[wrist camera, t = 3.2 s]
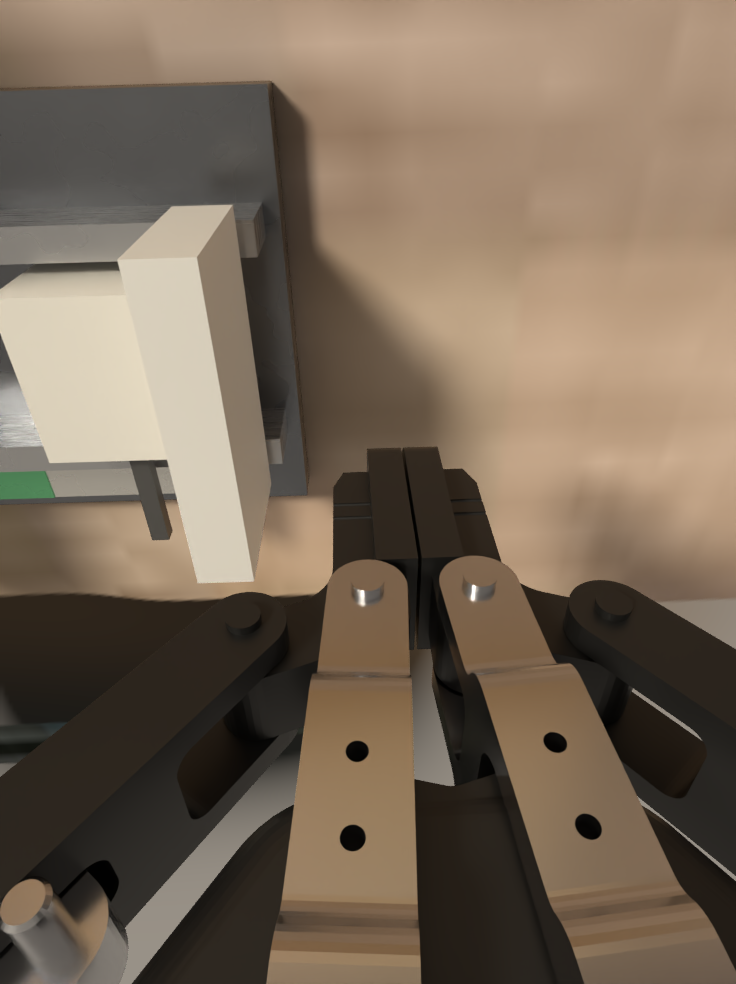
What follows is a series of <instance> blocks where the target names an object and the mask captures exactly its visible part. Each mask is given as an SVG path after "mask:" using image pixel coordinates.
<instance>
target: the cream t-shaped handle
mask: <svg viewBox="0 0 736 984" xmlns="http://www.w3.org/2000/svg"><path fill="white" fill-rule="evenodd" d="M0 334H1V337H2V340H3V342H4V345H5V347H6V350H7V353H8V355H9V358H10V361H11V363H12V366H13V368H14V371H15V374H16V376H17V379H18V382H19V384H20V387H21V389H22V392H23V395H24V397H25V400H26V402H27V405H28V408H29V410H30V413H31V416H32V418H33V421H34V423H35V426H36V429H37V431H38V434H39V437H40V439H41V442H42V444H43V447H44V450H45V452H46V455H47V458H48V460H49V463H72V462H105V461H129V462H130V465H131V469H132V472H133V476H134V479H135V482H136V486H137V489H138V493H139V496H140V500H141V503H142V506H143V510H144V513H145V517H146V520H147V524H148V527H149V530H150V534H151V537H152V540H169V539H170V536H171V533H172V527H171V524H170V520H169V516H168V512H167V508H166V505H165V501H164V497H163V493H162V490H161V486H160V482H159V478H158V474H157V471H156V467H155V463H154V460H167V461H168V465H169V469H170V473H171V477H172V481H173V485H174V489H175V493H176V497H177V501H178V505H179V509H180V513H181V517H182V521H183V525H184V529H185V533H186V537H187V541H188V545H189V549H190V553H191V557H192V561H193V565H194V569H195V573H196V577H197V581H198V583H220V582H253V581H254V579H255V574H256V568H257V562H258V557H259V551H260V545H261V540H262V534H263V528H264V523H265V517H266V511H267V506H268V500H269V494H270V489H271V478H270V471H269V464H268V456H267V449H266V442H265V434H264V427H263V420H262V413H261V405H260V398H259V391H258V384H257V376H256V369H255V362H254V355H253V347H252V340H251V333H250V325H249V318H248V311H247V304H246V296H245V289H244V282H243V275H242V267H241V260H240V253H239V246H238V238H237V231H236V224H235V216H234V209H233V205H203V206H172V207H171V208H170V209H169V210H168V211H167V212H166V213H165V214H164V215H163V216H162V217H160V218H159V219H158V220H157V221H156V222H155V223H154V224H153V225H152V226H151V227H150V228H149V229H148V230H147V231H146V232H145V233H144V234H143V235H142V236H141V237H140V238H139V239H138V240H137V241H136V242H135V243H134V244H133V245H132V246H131V247H130V248H129V249H128V250H127V251H126V252H125V253H124V254H123V255H121V256H120V257H119V258H118V259H117V261H114V262H79V263H45V264H34V265H33V266H31V267H30V268H29V269H27V270H26V271H25V272H23V273H22V274H21V275H19V276H18V277H16V278H15V279H14V280H12V281H11V282H10V283H8V284H7V285H6V286H4V287H3V288H1V289H0Z"/></svg>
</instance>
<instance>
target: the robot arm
mask: <svg viewBox="0 0 736 984" xmlns="http://www.w3.org/2000/svg"><path fill="white" fill-rule="evenodd" d="M333 505H334V507H333V573H332V576H331V577H330V579H329V582H328V584H327V585H326V586H325V587H324V588H323V589H322V590H321V591H320V592H319V593H317V594H316V595H314V596H312V597H310V598H308V599H306V600H303V601H301V602H297V603H294V604H291V605H287V606H284V607H283V606H282V604H281V603H280V602H279V601H278V600H276V599H275V598H273V597H271V596H269V595H266V594H263V593H257V592H244V593H238V594H234V595H231V596H228V597H226V598H224V599H222V600H220V601H219V602H217V603H216V604H214V605H213V606H212V607H211V608H210V609H208V610H207V611H206V612H205V613H203V614H202V615H201V616H200V617H198V618H197V619H196V620H195V621H193V622H192V623H191V624H190V625H189V626H187V627H186V628H185V629H184V630H182V631H181V632H180V633H178V634H177V635H176V636H175V637H173V638H172V639H171V640H170V641H169V642H167V643H166V644H165V645H164V646H162V647H161V648H160V649H159V650H157V651H156V652H155V653H154V654H153V655H151V656H150V657H149V658H148V659H146V660H145V661H144V662H142V663H141V664H140V665H139V666H137V667H136V668H135V669H134V670H133V671H131V672H130V673H129V674H128V675H126V676H125V677H124V678H123V679H121V680H120V681H119V682H118V683H116V684H115V685H114V686H113V687H112V688H110V689H109V690H108V691H107V692H105V693H104V694H103V695H101V696H100V697H99V698H98V699H97V700H95V701H94V702H93V703H92V704H90V705H89V706H88V707H87V708H85V709H84V710H83V711H82V712H80V713H79V714H78V715H77V716H75V717H74V718H73V719H72V720H70V721H69V722H68V723H67V724H65V725H64V726H63V727H62V728H61V729H59V730H58V731H57V732H56V733H54V734H53V735H52V736H51V737H49V738H48V739H47V740H46V741H44V742H43V743H42V744H41V745H39V746H38V747H37V748H36V749H34V750H33V751H32V752H31V753H29V754H28V755H27V756H26V757H25V758H23V759H22V760H21V761H20V762H18V763H17V764H16V765H15V766H13V767H12V768H11V769H10V770H8V771H7V772H6V773H5V774H4V775H2V776H1V777H0V984H119V983H120V981H121V978H122V975H123V973H124V970H125V967H126V962H127V958H128V937H127V933H126V929H125V927H126V925H128V923H129V922H130V921H131V920H132V919H133V918H134V917H135V916H136V915H137V913H138V912H139V911H140V910H141V909H142V908H143V907H144V906H145V905H146V903H147V902H148V901H149V900H150V899H151V898H152V897H153V896H154V894H155V893H156V892H157V891H158V890H159V889H160V888H161V886H163V884H164V883H165V882H166V881H167V880H168V879H169V878H170V877H171V875H172V874H173V873H174V872H175V871H176V870H177V869H178V868H179V867H180V865H181V864H182V863H183V862H184V861H185V860H186V859H187V858H188V856H189V855H190V854H191V853H192V852H193V851H194V850H195V849H196V848H197V847H198V845H199V844H200V843H201V842H202V841H203V840H204V839H205V838H206V836H207V835H208V834H209V833H210V832H211V831H212V830H213V829H214V828H215V826H216V825H217V824H218V823H219V822H220V821H221V820H222V819H223V817H224V816H225V815H226V814H227V813H228V812H229V811H230V810H231V809H232V807H233V806H234V805H235V804H236V803H237V802H238V801H239V800H240V799H241V797H242V796H243V795H244V794H245V793H246V792H247V791H248V789H249V788H250V787H251V786H252V785H253V784H254V783H255V782H256V781H257V780H258V778H259V777H260V776H261V775H262V774H263V773H264V772H265V771H266V769H267V768H268V767H269V766H270V765H271V764H272V763H273V762H274V760H275V759H276V758H277V757H278V756H279V755H280V754H281V753H282V752H283V751H284V749H285V748H286V747H287V746H288V745H289V744H290V743H291V741H292V740H293V739H294V737H295V735H296V733H297V731H298V728H301V727H304V733H303V741H302V749H301V757H300V764H299V772H298V779H297V787H296V795H295V802H294V805H292V806H290V807H288V808H286V809H285V810H283V811H281V812H280V813H278V814H276V815H275V816H273V817H272V818H270V819H269V820H268V821H267V822H265V823H264V824H263V825H262V826H260V827H259V828H258V829H257V830H256V831H255V832H254V833H253V834H252V835H251V836H250V837H249V838H248V839H247V840H246V841H245V842H244V843H243V844H242V845H241V847H240V848H239V849H238V850H237V851H236V853H235V854H234V855H233V857H232V858H231V859H230V860H229V862H228V863H227V864H226V865H225V867H224V868H223V869H222V870H221V872H220V873H219V874H218V875H217V877H216V878H215V879H214V881H213V882H212V883H211V884H210V886H209V887H208V888H207V889H206V891H205V892H204V893H203V895H202V896H201V897H200V898H199V899H198V901H197V902H196V903H195V905H194V906H193V907H192V908H191V910H190V911H189V912H188V913H187V915H186V916H185V917H184V918H183V920H182V921H181V922H180V924H179V925H178V926H177V927H176V929H175V930H174V931H173V932H172V934H171V935H170V936H169V937H168V939H167V940H166V941H165V942H164V944H163V945H162V947H161V948H160V949H159V950H158V951H157V953H156V954H155V955H154V956H153V958H152V959H151V960H150V962H149V963H148V964H147V965H146V967H145V968H144V969H143V970H142V972H141V973H140V974H139V975H138V977H137V978H136V979H135V980H134V982H133V983H132V984H736V881H735V880H734V879H732V878H731V877H730V876H729V875H728V874H727V873H725V872H724V871H723V870H722V869H721V868H719V867H718V866H717V865H716V864H715V863H714V862H712V861H711V860H710V859H709V858H708V857H707V856H705V855H704V854H703V853H702V852H701V851H699V849H697V848H696V847H695V846H694V845H693V844H691V843H690V842H689V841H688V840H687V839H686V838H685V837H683V836H682V835H681V834H680V833H679V832H677V831H676V830H675V829H674V828H673V827H672V826H670V825H669V824H668V823H667V822H665V821H664V820H663V819H661V818H660V817H659V816H657V815H656V814H654V813H653V812H651V811H650V810H648V809H647V808H645V807H643V806H642V805H641V803H640V801H639V799H638V797H639V798H640V799H642V800H643V801H644V802H645V803H646V804H648V805H649V806H650V807H651V808H653V809H654V810H655V811H656V812H658V813H659V814H660V815H662V816H663V817H664V818H665V819H666V820H668V821H669V822H670V823H671V824H673V825H674V826H675V827H676V828H678V829H679V830H680V831H681V832H682V833H684V834H685V835H686V836H687V837H688V838H690V839H691V840H692V841H693V842H695V843H696V844H697V845H699V846H700V847H701V848H702V849H703V850H705V851H706V852H707V853H708V854H709V855H711V856H712V857H713V858H714V859H716V860H717V861H718V862H719V863H721V864H722V865H723V866H724V867H726V868H727V869H728V870H729V871H731V872H732V873H733V874H734V875H735V876H736V649H734V648H732V647H731V646H729V645H728V644H726V643H724V642H722V641H721V640H719V639H717V638H715V637H714V636H712V635H711V634H709V633H707V632H706V631H704V630H702V629H700V628H699V627H697V626H695V625H694V624H692V623H690V622H688V621H687V620H685V619H683V618H682V617H680V616H678V615H677V614H675V613H673V612H672V611H670V610H668V609H666V608H665V607H663V606H661V605H660V604H658V603H656V602H655V601H653V600H651V599H649V598H648V597H646V596H644V595H643V594H641V593H639V592H638V591H636V590H634V589H632V588H630V587H628V586H626V585H623V584H620V583H617V582H613V581H606V580H595V581H589V582H585V583H583V584H580V585H579V586H577V587H576V588H575V589H574V590H573V591H572V593H571V594H570V597H564V596H560V595H555V594H550V593H545V592H541V591H537V590H534V589H531V588H529V587H527V586H525V585H523V584H521V583H520V582H519V580H518V578H517V576H516V574H515V573H514V572H513V571H512V570H511V569H510V568H509V567H508V566H507V565H505V564H503V563H502V562H501V559H500V556H499V553H498V550H497V546H496V543H495V540H494V537H493V534H492V530H491V527H490V524H489V521H488V518H487V515H486V513H485V512H486V511H485V508H484V505H483V502H482V501H481V495H480V492H479V489H478V486H477V483H476V482H475V481H474V480H473V479H472V478H471V477H470V476H469V475H468V474H467V473H466V472H465V471H464V470H463V469H443V468H442V463H441V459H440V455H439V451H438V448H437V447H408V448H403V450H402V452H401V448H381V449H367V472H353V473H343V474H342V476H341V477H340V479H339V480H338V482H337V483H336V485H335V486H334V492H333ZM415 635H416V642H417V649H431V654H432V660H433V670H432V688H433V692H434V696H435V700H436V704H437V708H438V713H439V717H440V721H441V725H442V729H443V733H444V737H445V742H446V746H447V750H448V755H449V759H450V762H451V767H452V772H453V778H454V785H455V786H445V785H440V784H435V783H430V782H425V781H420V780H416V779H414V750H413V714H412V681H411V675H410V669H409V667H410V666H409V650H413V649H414V638H415ZM633 688H634V689H635V690H637V691H638V692H640V693H641V694H643V695H644V696H646V697H647V698H649V699H650V700H651V701H653V702H654V703H656V704H657V705H658V706H660V707H661V708H663V709H664V710H666V711H667V712H668V713H670V714H671V715H673V716H674V717H676V718H677V719H679V720H680V721H681V722H683V723H684V724H686V725H687V726H689V727H690V728H691V729H693V730H694V731H695V732H696V733H697V734H698V735H699V737H700V738H701V739H702V741H701V740H700V739H698V738H697V737H695V736H694V735H693V734H691V733H690V732H689V731H687V730H685V729H684V728H683V727H681V726H680V725H679V724H677V723H676V722H674V721H673V720H671V719H670V718H669V717H667V716H665V715H664V714H663V713H661V712H660V711H658V710H657V709H656V708H654V707H653V706H651V705H650V704H648V703H647V702H646V701H644V700H643V699H641V698H640V697H639V696H637V695H636V694H634V693H633V692H632V689H633ZM637 796H638V797H637Z"/></svg>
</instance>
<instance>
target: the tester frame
mask: <svg viewBox="0 0 736 984" xmlns="http://www.w3.org/2000/svg"><path fill="white" fill-rule="evenodd" d="M203 205H233V209H234V216H235V224H236V231H237V238H238V246H239V253H240V260H241V267H242V275H243V282H244V289H245V296H246V304H247V311H248V318H249V325H250V333H251V340H252V347H253V355H254V362H255V369H256V376H257V384H258V391H259V398H260V405H261V413H262V420H263V427H264V434H265V442H266V449H267V456H268V464H269V471H270V478H271V489H270V494H269V496H298V495H307V494H308V483H309V473H308V463H307V452H306V441H305V431H304V420H303V409H302V399H301V388H300V378H299V367H298V356H297V346H296V335H295V324H294V314H293V303H292V292H291V282H290V271H289V261H288V250H287V239H286V229H285V218H284V207H283V197H282V186H281V175H280V165H279V154H278V144H277V133H276V122H275V112H274V101H273V90H272V81H253V82H217V83H181V84H146V85H110V86H74V87H38V88H2V89H0V289H1V288H3V287H4V286H6V285H7V284H8V283H10V282H11V281H12V280H14V279H15V278H16V277H18V276H19V275H21V274H22V273H23V272H25V271H26V270H27V269H29V268H30V267H31V266H33V265H34V264H45V263H79V262H114V261H117V259H118V258H119V257H120V256H121V255H123V254H124V253H125V252H126V251H127V250H128V249H129V248H130V247H131V246H132V245H133V244H134V243H135V242H136V241H137V240H138V239H139V238H140V237H141V236H142V235H143V234H144V233H145V232H146V231H147V230H148V229H149V228H150V227H151V226H152V225H153V224H154V223H155V222H156V221H157V220H158V219H159V218H160V217H162V216H163V215H164V214H165V213H166V212H167V211H168V210H169V209H170V208H171V207H172V206H203ZM154 463H155V467H156V471H157V474H158V478H159V482H160V486H161V490H162V493H163V497H164V500H167V499H177V497H176V493H175V489H174V485H173V481H172V477H171V473H170V469H169V465H168V461H167V460H154ZM134 500H140V496H139V493H138V489H137V486H136V482H135V479H134V476H133V472H132V469H131V465H130V462H129V461H105V462H72V463H49V460H48V458H47V455H46V452H45V450H44V447H43V444H42V442H41V439H40V437H39V434H38V431H37V429H36V426H35V423H34V421H33V418H32V416H31V413H30V410H29V408H28V405H27V402H26V400H25V397H24V395H23V392H22V389H21V387H20V384H19V382H18V379H17V376H16V374H15V371H14V368H13V366H12V363H11V361H10V358H9V355H8V353H7V350H6V347H5V345H4V342H3V340H2V337H1V334H0V505H4V504H36V503H69V502H102V501H134Z"/></svg>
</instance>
